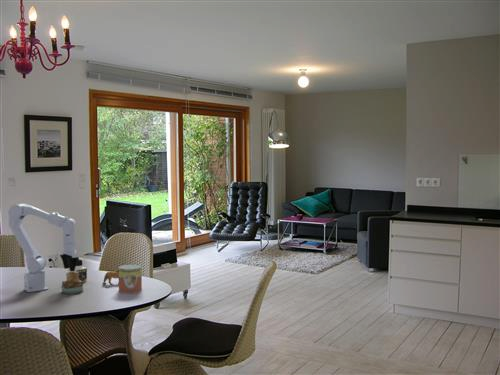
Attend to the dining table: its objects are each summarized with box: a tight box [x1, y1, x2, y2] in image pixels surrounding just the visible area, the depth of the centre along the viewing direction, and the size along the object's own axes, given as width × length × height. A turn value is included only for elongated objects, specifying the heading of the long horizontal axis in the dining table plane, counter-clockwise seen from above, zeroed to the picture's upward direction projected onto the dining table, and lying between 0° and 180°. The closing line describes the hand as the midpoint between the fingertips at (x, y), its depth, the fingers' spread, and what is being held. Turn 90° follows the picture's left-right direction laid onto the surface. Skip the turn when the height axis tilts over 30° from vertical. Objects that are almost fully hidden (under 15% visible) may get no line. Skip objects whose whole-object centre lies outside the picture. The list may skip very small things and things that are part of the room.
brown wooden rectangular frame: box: [61, 280, 84, 289], centre depth 253 cm, size 8×6×2 cm
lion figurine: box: [101, 269, 119, 286], centre depth 270 cm, size 15×5×9 cm, turn 131°
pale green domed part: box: [61, 285, 84, 295], centre depth 253 cm, size 10×10×2 cm
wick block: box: [65, 271, 79, 283], centre depth 253 cm, size 5×2×7 cm, turn 130°
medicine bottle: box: [67, 258, 88, 283], centre depth 274 cm, size 7×7×12 cm
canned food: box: [118, 264, 143, 295], centre depth 256 cm, size 11×11×12 cm
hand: (69, 269), depth 257 cm, fingers open, 7 cm apart
